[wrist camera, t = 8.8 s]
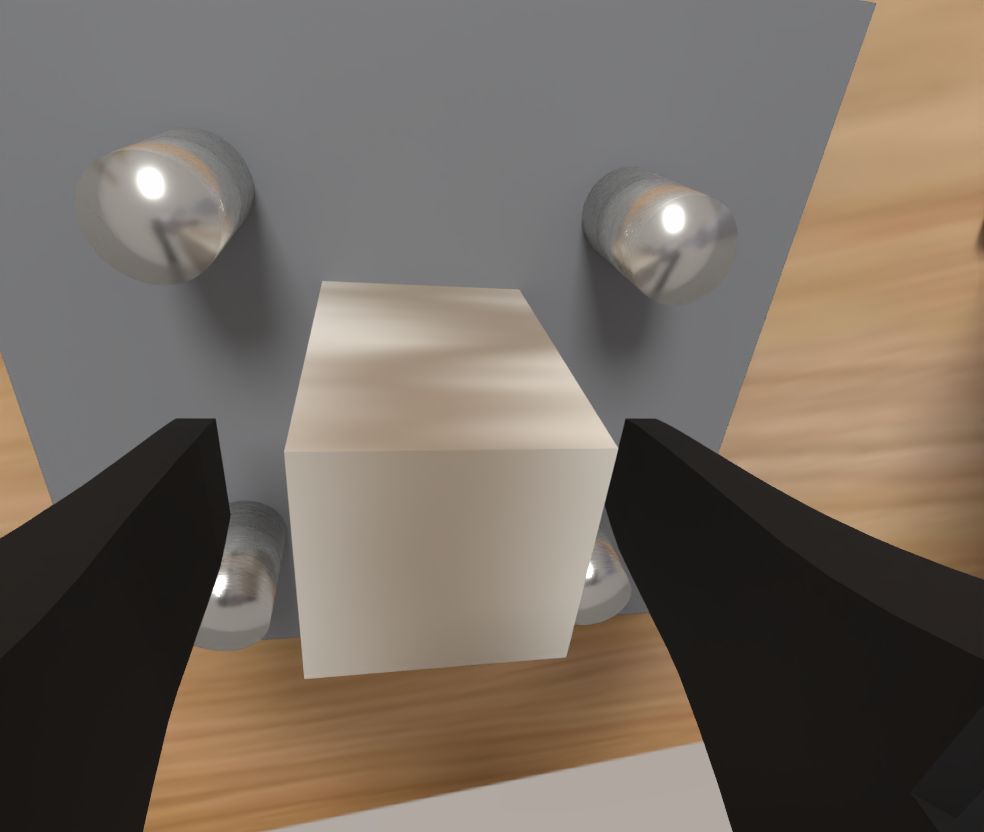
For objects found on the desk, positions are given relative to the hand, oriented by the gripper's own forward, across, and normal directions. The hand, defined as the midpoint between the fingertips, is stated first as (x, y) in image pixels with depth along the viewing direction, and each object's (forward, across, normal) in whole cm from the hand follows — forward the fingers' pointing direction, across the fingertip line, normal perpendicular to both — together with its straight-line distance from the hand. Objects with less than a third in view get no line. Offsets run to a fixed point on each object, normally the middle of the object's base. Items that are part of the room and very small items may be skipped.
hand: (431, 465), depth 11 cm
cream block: (+3, 0, 0) cm, 3 cm away
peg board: (+4, 0, 0) cm, 4 cm away
